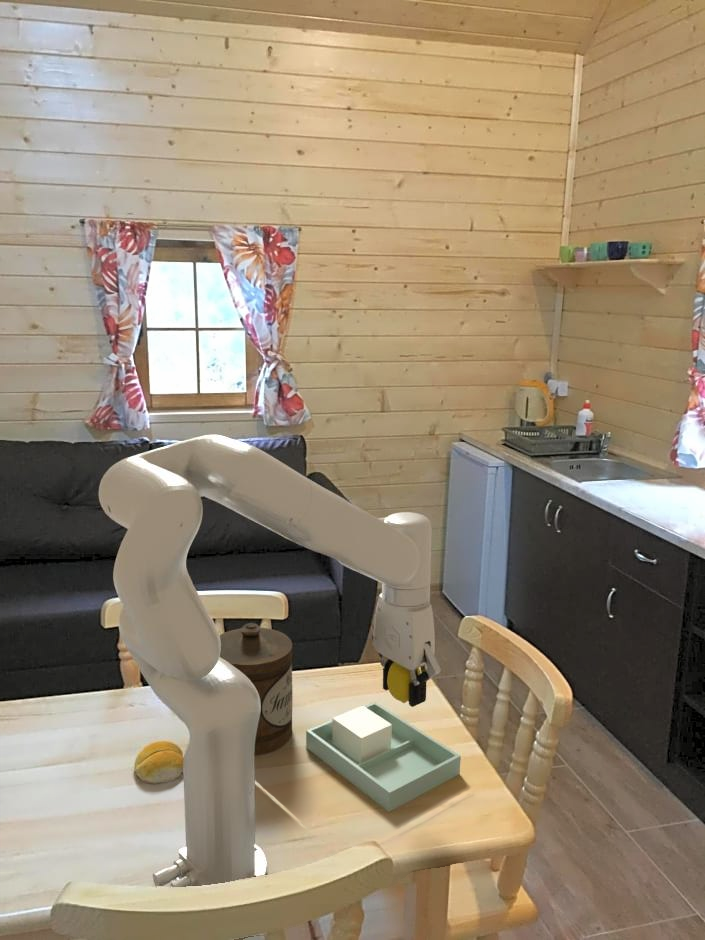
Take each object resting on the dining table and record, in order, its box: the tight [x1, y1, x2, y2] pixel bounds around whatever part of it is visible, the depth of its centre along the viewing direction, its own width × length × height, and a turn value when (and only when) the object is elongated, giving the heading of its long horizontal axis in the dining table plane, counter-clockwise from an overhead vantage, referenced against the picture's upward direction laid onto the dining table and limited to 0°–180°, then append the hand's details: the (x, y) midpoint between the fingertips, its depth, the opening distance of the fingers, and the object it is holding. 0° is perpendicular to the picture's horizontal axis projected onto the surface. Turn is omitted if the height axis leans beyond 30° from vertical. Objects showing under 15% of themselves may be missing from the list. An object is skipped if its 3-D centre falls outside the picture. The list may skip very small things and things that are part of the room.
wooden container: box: [219, 622, 293, 757], centre depth 144 cm, size 15×15×22 cm
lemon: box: [387, 662, 421, 704], centre depth 129 cm, size 6×6×8 cm
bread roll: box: [134, 740, 184, 784], centre depth 136 cm, size 8×9×4 cm
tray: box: [305, 701, 462, 813], centre depth 138 cm, size 16×22×4 cm
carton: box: [331, 705, 392, 763], centre depth 142 cm, size 7×8×5 cm
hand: (404, 694), depth 130 cm, fingers closed on lemon, 5 cm apart
